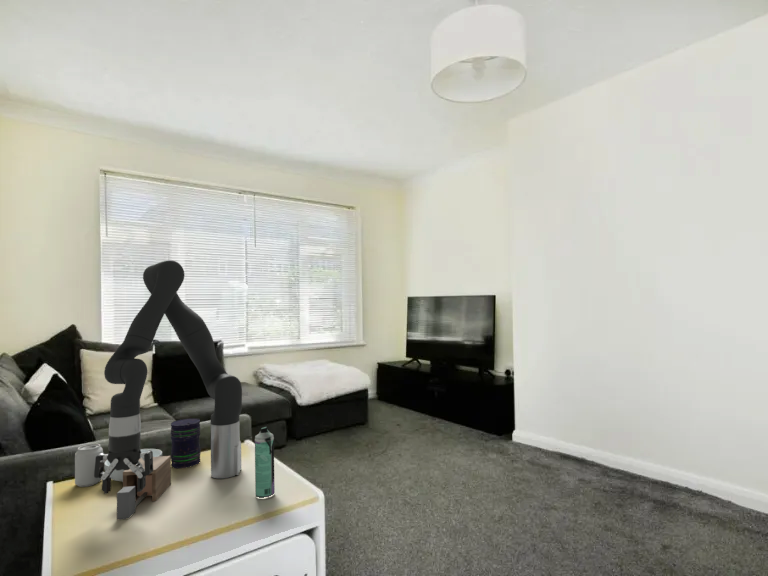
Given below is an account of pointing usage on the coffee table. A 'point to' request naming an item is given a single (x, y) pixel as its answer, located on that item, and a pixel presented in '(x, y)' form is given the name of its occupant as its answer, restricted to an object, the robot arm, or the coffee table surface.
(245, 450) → the coffee table surface
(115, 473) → the cereal bowl
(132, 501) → the block with cord
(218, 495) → the coffee table surface
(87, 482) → the can
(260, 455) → the spray can
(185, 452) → the storage jar
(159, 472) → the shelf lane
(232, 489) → the coffee table surface
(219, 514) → the coffee table surface
